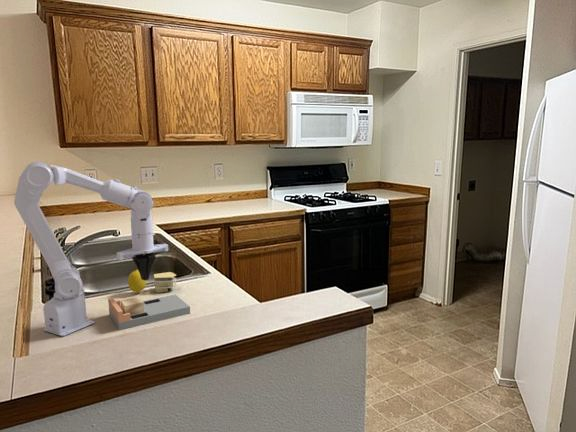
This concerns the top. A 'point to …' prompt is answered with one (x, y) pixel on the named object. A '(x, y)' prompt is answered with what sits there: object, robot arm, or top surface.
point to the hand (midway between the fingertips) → (145, 279)
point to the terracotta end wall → (118, 311)
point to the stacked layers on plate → (164, 281)
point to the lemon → (136, 282)
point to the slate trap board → (155, 311)
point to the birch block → (132, 306)
